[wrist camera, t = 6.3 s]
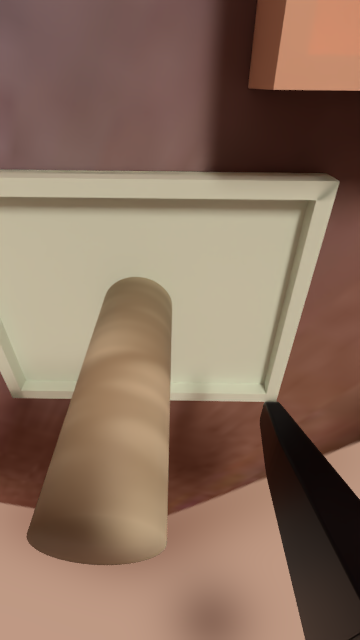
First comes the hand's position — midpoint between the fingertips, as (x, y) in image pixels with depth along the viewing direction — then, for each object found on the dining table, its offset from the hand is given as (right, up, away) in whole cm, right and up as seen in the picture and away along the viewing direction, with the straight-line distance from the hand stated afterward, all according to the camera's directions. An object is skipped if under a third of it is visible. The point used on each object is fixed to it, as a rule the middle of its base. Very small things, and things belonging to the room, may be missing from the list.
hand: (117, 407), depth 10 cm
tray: (0, +4, +5) cm, 6 cm away
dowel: (0, +3, +4) cm, 6 cm away
